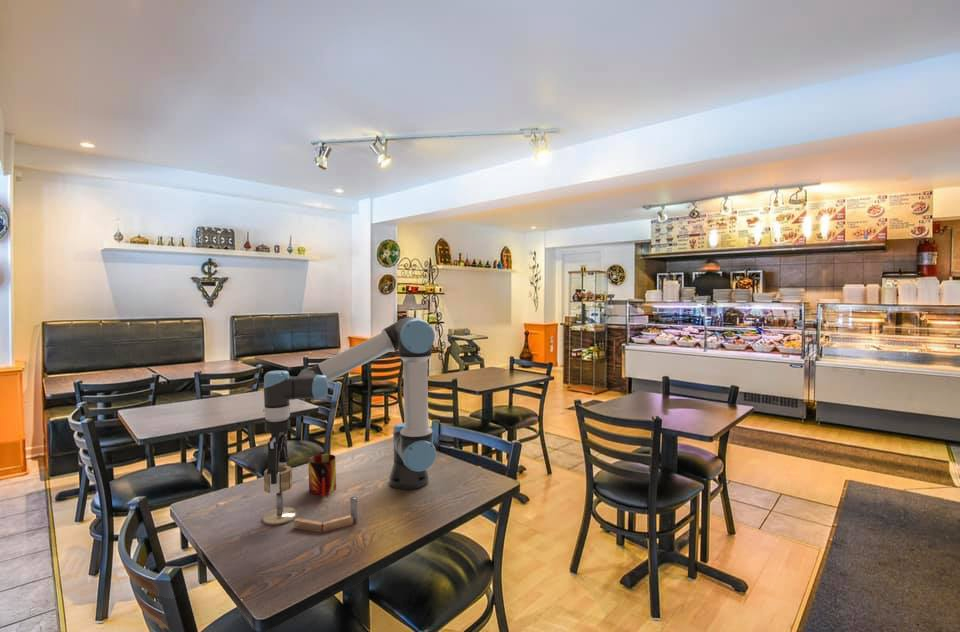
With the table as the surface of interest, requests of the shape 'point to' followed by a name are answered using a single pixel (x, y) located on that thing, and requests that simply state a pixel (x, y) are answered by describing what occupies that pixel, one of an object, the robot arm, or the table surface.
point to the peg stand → (279, 513)
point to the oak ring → (280, 479)
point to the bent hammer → (329, 524)
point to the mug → (322, 474)
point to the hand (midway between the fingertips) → (278, 487)
